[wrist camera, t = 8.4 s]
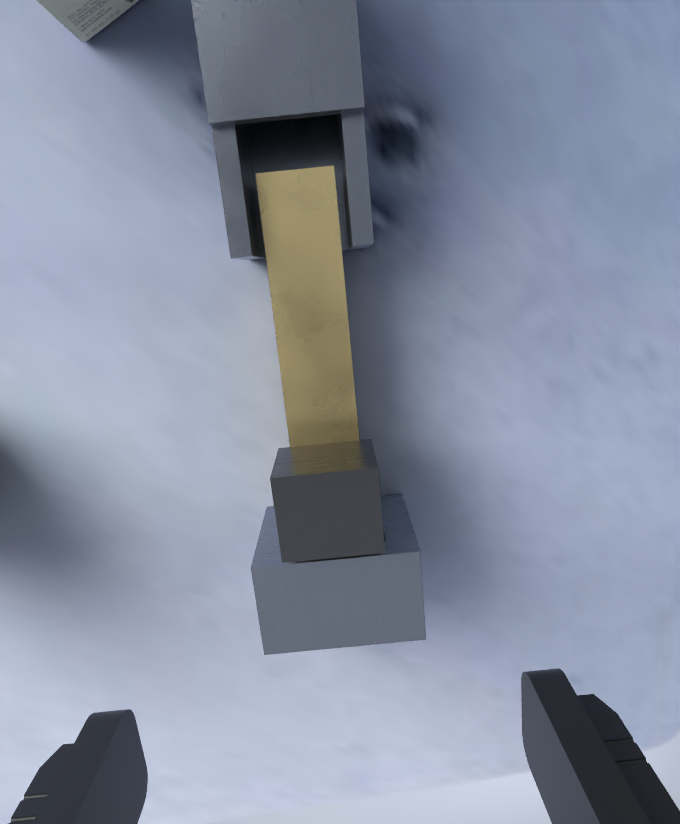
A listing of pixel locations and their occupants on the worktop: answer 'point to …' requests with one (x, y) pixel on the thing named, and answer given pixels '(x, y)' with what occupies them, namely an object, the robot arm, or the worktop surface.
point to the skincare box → (86, 14)
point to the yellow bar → (316, 376)
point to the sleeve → (284, 106)
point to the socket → (340, 591)
